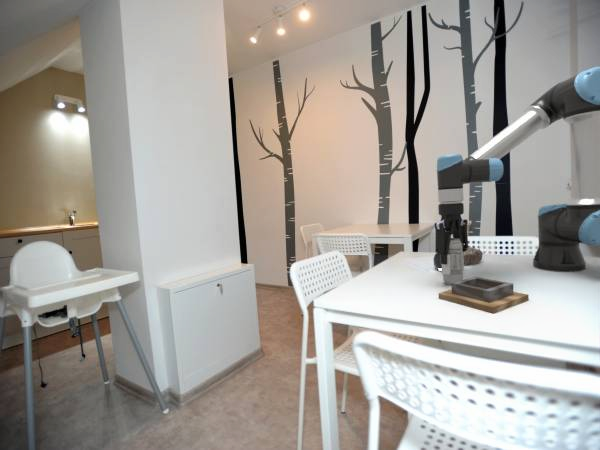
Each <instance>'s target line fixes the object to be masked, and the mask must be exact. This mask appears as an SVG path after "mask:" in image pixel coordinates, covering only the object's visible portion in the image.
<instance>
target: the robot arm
mask: <svg viewBox="0 0 600 450" xmlns="http://www.w3.org/2000/svg"><path fill="white" fill-rule="evenodd" d="M562 119H563V122H565V123H567V124H568V125H569V140H570V178H571V182H570V183H571V199H570V200H569V201H568V202H567V203H561V204H560V203H558V204H550V205H544V206H541V207H540V208H539V209H538V212H537V213H538V214H537V220H538V223H537V227H538V231H537V232H538V247H537V250H536V252H535V255H534V258H533V259H532V260H533V261H532V267H534V268H536V269H540V270H545V271H552V272H581V271H585V270H587V264H586V263H587V261H586V260H585V258H584V256H583V253H582V251H581V249H580V244H583V245H587V246H600V66H594V67H591V68H589V69H586V70H583V71H581V72H579V73H577V74H576V75H574V76H572V77H569V78H567V79H565V80H564V81H561V82H558V83H556V85H554V86H551V88H549V89H548V90H547V91H545V92H544V93H543V94H542V95H541V96H540V97H538V98H537V99H536V100H535V101H534V102H532V103H531V104H530V105H529V106H528V107H526V108H525V109H524V113H523V114H522V115H520V116H519V117H517V118H516V119H515V120H513V122H511V123H510V124H508V125H507V126H506V127H505V128H503V129H502V130H501V131H499V132H498V133H497V134H496V135H494V136H493V137H492V138H490V139H489V140H488V141H487V142H485V143H484V144H482V145H481V146H480V147H479V148H478V149H476V150H475V151H474V152H472V153H471V154H470V155H468V156H467V157H466V158H465V159H463V155H462V154H461V153H453V154H452V153H451V154H444V155H441V156H439V157H438V158H437V160H436V161H437V162H436V178H437V195H438V196H437V200H438V201H437V202H438V216H441V217H440V221H439V222H435V223H434V224H433V225H434V229H435V254H436V253H438V254H440V255H441V264H442V272H441V274H442V275H443V274H448V275H450V274H451V270H450V255H449V254H448V251H449V245H450V239H451V238H459V239H460V241H461V243H462V255H463V272H464V271H465V268H464V266H465V265H464V251H467V248H468V247H469V238H468V219H465V218H462V216H461V215H463V214H464V213H465V209H464V207H465V206H464V203H463V202H464V200H465V199H464V185H467V184H468V185H469V184H479V183H492V182H497V181H500V179H501V178H503V175H504V163H503V161H502V160H501V159H502V158H503V157H505V156H506V155H508V154H509V153H510V152H511V151H513V150H514V149H515V148H516V147H518V146H519V145H520V144H522V143H523V142H525V140H527V139H528V138H530V137H531V136H532V135H534V134H535V133H536V132H538V131H539V130H540V129H541V130H544V129H546V128H548V127H549V126H550V125H551V124H553V123H555V122H558V121H559V120H562ZM444 250H445V251H444Z"/></svg>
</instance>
